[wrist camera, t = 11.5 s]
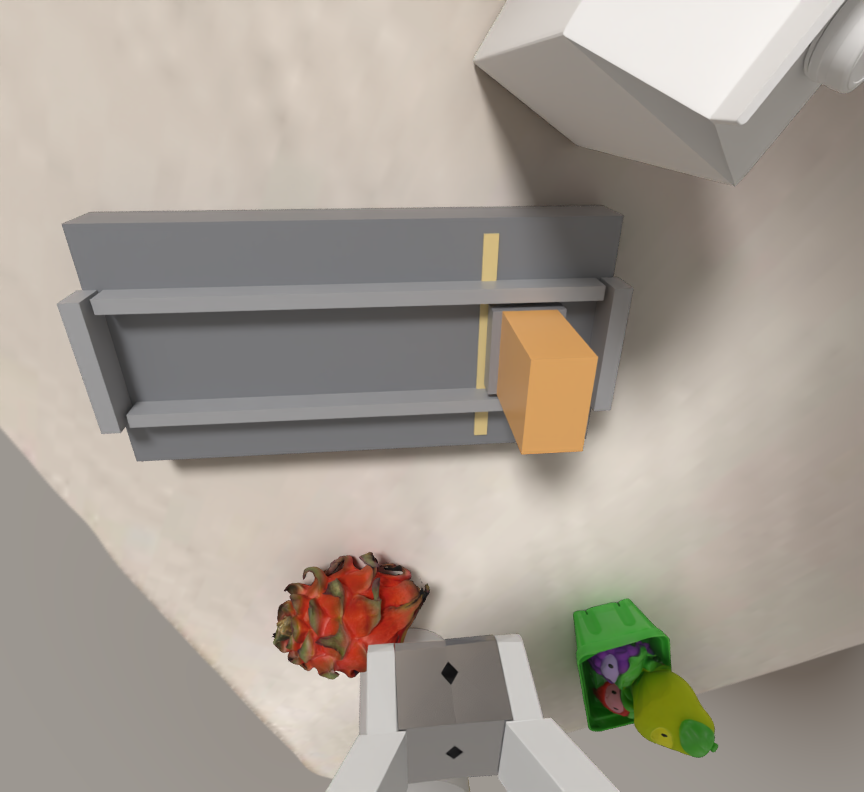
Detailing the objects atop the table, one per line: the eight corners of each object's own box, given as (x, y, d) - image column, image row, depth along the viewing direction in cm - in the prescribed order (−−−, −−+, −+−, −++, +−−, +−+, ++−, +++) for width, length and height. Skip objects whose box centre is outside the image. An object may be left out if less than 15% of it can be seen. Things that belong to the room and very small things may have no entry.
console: (83, 212, 29) (32, 233, 24) (607, 205, 31) (645, 223, 27) (149, 434, 36) (118, 482, 31) (575, 414, 38) (601, 456, 34)
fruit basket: (556, 605, 48) (604, 738, 38) (655, 580, 47) (730, 708, 38) (571, 680, 53) (616, 813, 44) (660, 659, 53) (726, 788, 43)
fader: (488, 303, 30) (519, 360, 24) (559, 301, 30) (609, 356, 24) (484, 383, 32) (511, 454, 26) (549, 381, 33) (592, 450, 26)
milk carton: (470, 61, 27) (622, 13, 11) (560, -93, 25) (943, -469, 8) (576, 146, 30) (834, 214, 13) (668, 14, 27) (1134, -109, 11)
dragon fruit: (269, 571, 45) (410, 525, 46) (298, 676, 44) (440, 626, 45) (242, 594, 36) (414, 537, 38) (276, 724, 35) (452, 661, 37)
